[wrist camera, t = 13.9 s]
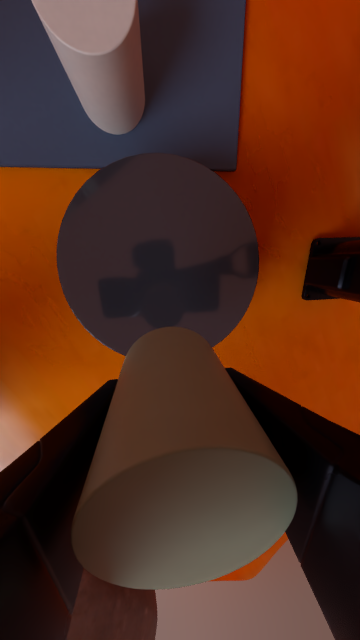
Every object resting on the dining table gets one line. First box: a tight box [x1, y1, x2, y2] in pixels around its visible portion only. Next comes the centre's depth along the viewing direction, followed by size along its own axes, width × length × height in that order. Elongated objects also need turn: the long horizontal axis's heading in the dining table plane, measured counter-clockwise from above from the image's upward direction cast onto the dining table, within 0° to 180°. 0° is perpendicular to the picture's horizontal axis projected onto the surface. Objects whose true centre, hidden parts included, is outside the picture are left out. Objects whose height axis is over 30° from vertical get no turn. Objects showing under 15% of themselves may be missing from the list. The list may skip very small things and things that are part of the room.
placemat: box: [0, 0, 246, 171], centre depth 12 cm, size 20×18×1 cm
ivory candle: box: [31, 0, 145, 135], centre depth 11 cm, size 5×5×6 cm
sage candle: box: [71, 327, 298, 590], centre depth 7 cm, size 5×5×6 cm
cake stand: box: [57, 153, 259, 356], centre depth 16 cm, size 15×15×5 cm
